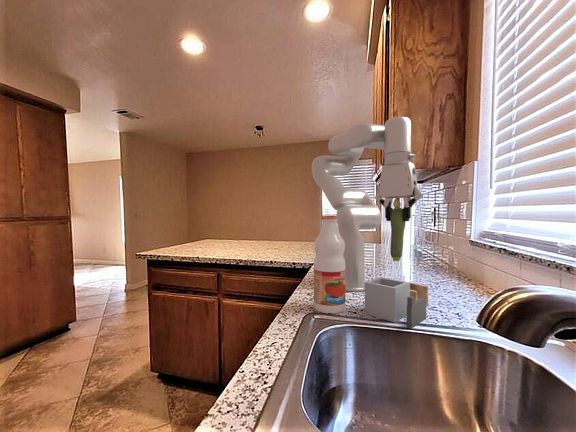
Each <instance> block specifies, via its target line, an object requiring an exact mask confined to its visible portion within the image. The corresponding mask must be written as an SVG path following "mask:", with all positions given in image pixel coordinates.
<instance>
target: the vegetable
mask: <svg viewBox="0 0 576 432" xmlns="http://www.w3.org/2000/svg"><path fill="white" fill-rule="evenodd" d="M400 200H401V198H400V197H396V198H394V200H393V201H392V203H393V205H392V207H394V208H393V210H392V211H391V214H390V221H389V222H390V229H391V235H390V246H389V247H390V256H391V258H392V261H393V262H399V261H401V257H402V255H403V248H404V237H405V235H404V234H405V229H406V221H403V207H401V206H402V203H401V201H400Z"/></svg>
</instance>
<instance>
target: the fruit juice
mask: <svg viewBox="0 0 576 432" xmlns="http://www.w3.org/2000/svg"><path fill="white" fill-rule="evenodd" d="M320 218H321V222H322V223H321V228H320V231H319V234H318V235H317V237H316V238H315V240H314V245H313V247H314V252H315V256H314V259H313V307H314V309H315V311H317V312H318V313H323V314H328V313H332V314H331V315H333V314H339V313H343V312H345V309H346V291H345V271H346V266H345V259H344V256H343V253H344V250H345V242H344V240H343V238H342V237H341V235H340V233H339V230H338V225H337V221H338V216H337V215H336V214H335V215H331V214H328V215H326V214H325V215H321V217H320Z"/></svg>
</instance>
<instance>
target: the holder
mask: <svg viewBox="0 0 576 432" xmlns="http://www.w3.org/2000/svg"><path fill="white" fill-rule="evenodd" d="M410 296H413V297H415V301H416V300H418V299H420V298H426V307H428V306H429V285H425V284H419V283H414V282H410Z"/></svg>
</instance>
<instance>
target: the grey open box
mask: <svg viewBox="0 0 576 432" xmlns="http://www.w3.org/2000/svg"><path fill="white" fill-rule="evenodd" d="M364 283H365V291H364V315H369V316H371V317H374V318H378V319H382V320H385V321H388V322H393V323H397V322H398V321H400V320H402V319H404V318H406V317H407V297H409V296H410V283H411V282H409V281H403V280H398V279H394V278H393V279H392V278H386V277H382V276H381V277H377V278H373V279H370V280H367V281H364Z"/></svg>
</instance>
